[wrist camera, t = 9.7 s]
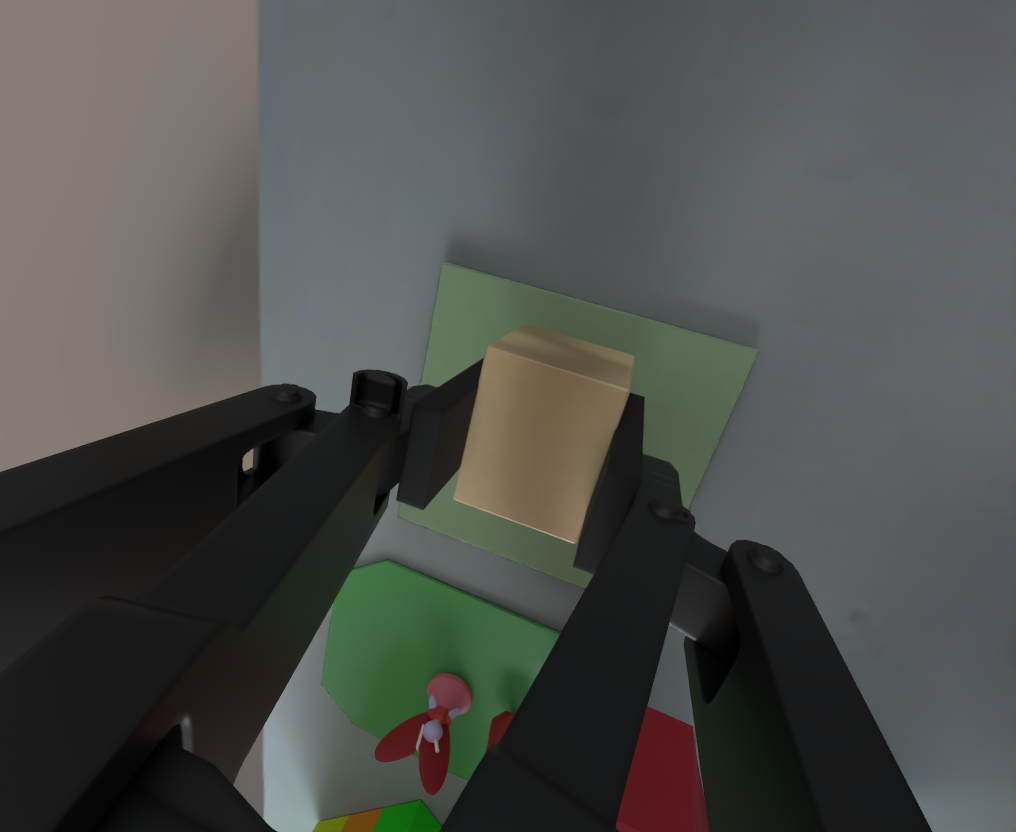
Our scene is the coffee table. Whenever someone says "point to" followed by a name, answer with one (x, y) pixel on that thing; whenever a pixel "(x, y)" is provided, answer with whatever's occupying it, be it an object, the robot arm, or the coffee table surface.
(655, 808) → the low-poly diorama
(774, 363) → the coffee table surface
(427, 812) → the puzzle toy
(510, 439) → the birch piece
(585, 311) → the mat
